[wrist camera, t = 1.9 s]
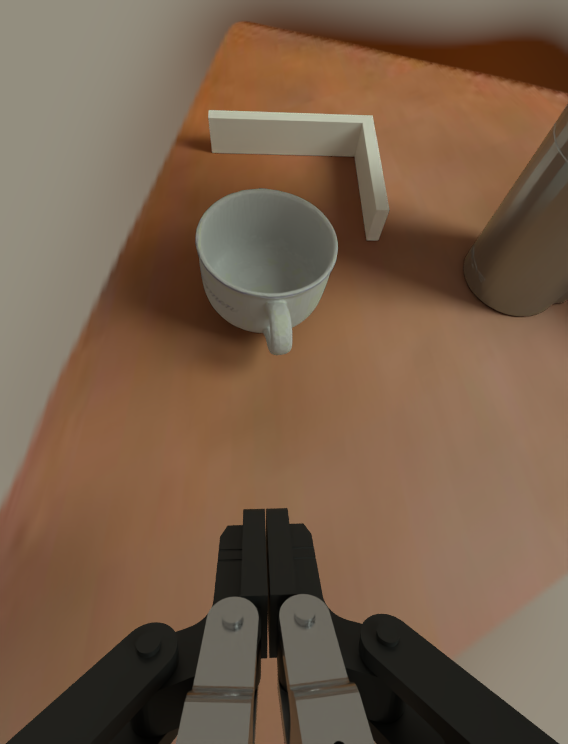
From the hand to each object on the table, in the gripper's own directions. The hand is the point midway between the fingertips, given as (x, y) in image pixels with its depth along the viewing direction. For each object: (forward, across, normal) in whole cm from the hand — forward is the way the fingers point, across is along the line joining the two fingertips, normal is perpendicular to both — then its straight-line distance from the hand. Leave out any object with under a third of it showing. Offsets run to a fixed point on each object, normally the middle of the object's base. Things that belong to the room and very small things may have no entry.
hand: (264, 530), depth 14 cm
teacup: (+27, -1, -2) cm, 27 cm away
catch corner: (+37, -4, -13) cm, 39 cm away
